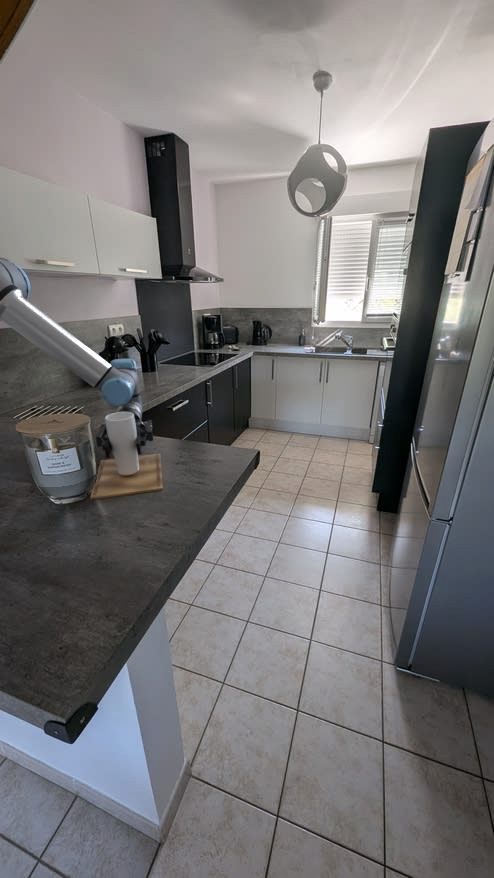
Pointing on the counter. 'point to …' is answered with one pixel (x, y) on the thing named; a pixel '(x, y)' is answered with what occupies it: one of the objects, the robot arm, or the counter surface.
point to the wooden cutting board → (128, 478)
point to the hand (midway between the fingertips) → (123, 450)
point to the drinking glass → (123, 441)
